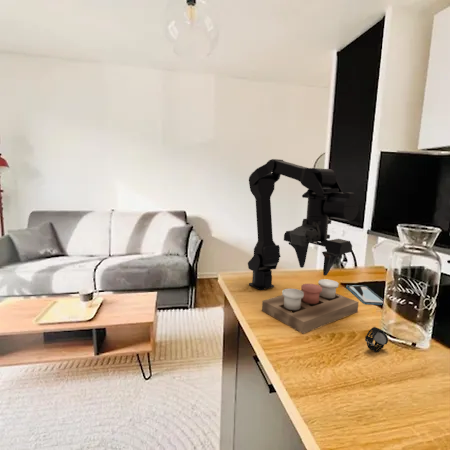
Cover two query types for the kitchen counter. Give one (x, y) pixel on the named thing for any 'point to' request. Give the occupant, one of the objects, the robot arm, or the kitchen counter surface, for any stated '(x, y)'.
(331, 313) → the socket board
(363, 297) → the smartphone
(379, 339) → the smartwatch
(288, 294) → the grey plug near
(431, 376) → the kitchen counter surface
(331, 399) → the kitchen counter surface
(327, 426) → the kitchen counter surface
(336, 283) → the grey plug far
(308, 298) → the red plug
